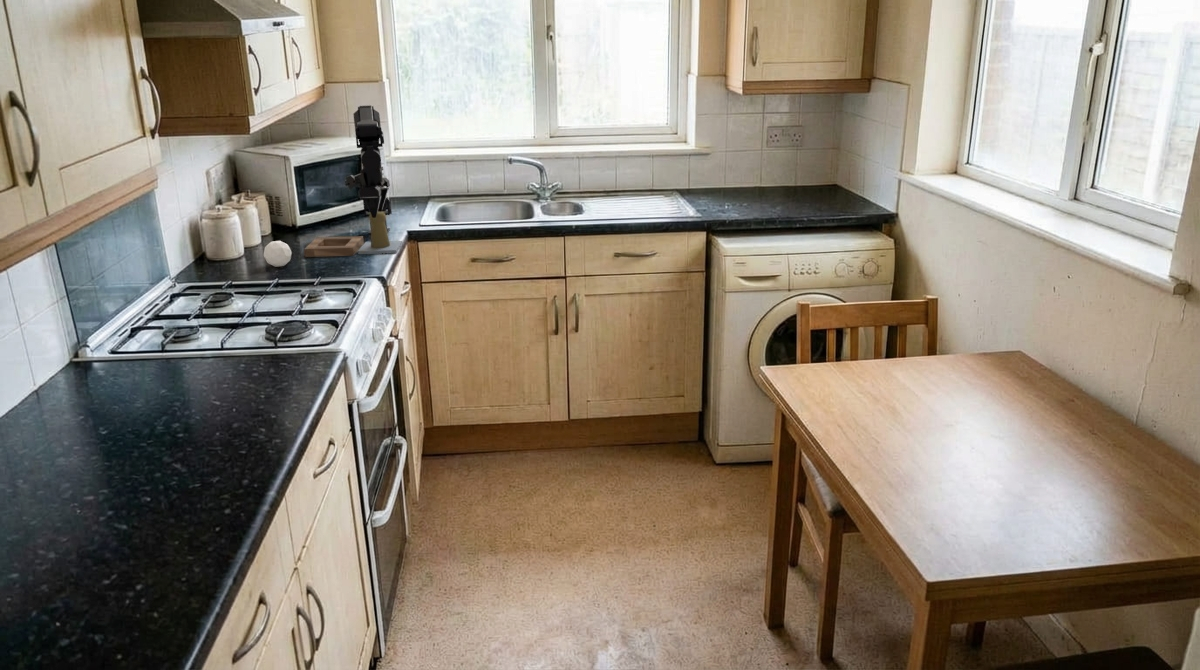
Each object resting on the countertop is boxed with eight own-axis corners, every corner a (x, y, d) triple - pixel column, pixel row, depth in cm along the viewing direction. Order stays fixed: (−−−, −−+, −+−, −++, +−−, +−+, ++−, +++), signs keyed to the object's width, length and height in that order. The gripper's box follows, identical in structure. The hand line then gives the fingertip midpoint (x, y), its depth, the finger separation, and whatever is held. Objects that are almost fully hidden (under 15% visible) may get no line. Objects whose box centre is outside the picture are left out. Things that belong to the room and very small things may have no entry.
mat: (366, 244, 279) (365, 241, 278) (402, 243, 279) (402, 240, 279) (357, 254, 268) (357, 251, 267) (396, 253, 268) (396, 250, 268)
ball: (288, 273, 258) (301, 253, 256) (265, 270, 251) (278, 249, 249) (276, 257, 261) (289, 237, 259) (254, 254, 255) (266, 233, 252)
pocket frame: (317, 244, 280) (316, 237, 279) (363, 243, 280) (363, 236, 279) (305, 256, 266) (303, 249, 265) (353, 255, 266) (352, 247, 265)
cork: (379, 249, 269) (375, 214, 265) (366, 246, 273) (362, 212, 269) (394, 245, 274) (390, 211, 270) (382, 242, 277) (378, 209, 273)
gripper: (352, 160, 272) (357, 209, 278) (338, 170, 255) (344, 221, 260) (387, 159, 273) (392, 208, 278) (375, 169, 255) (381, 220, 261)
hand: (377, 214), depth 269 cm, fingers open, 9 cm apart
